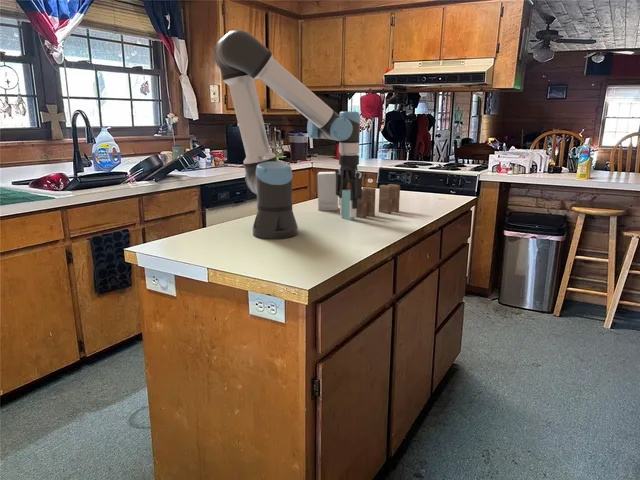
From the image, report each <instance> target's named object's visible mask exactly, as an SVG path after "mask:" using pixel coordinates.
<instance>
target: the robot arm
mask: <svg viewBox="0 0 640 480" xmlns="http://www.w3.org/2000/svg"><path fill="white" fill-rule="evenodd" d="M213 56H214V61H215V63H216V65H217V67H218V68H219V70H220V75H221V79H222V82H223V83H225V84H226V85H227V86H228V88H229V92H230V95H231V101H232V105H233V108H234V112H235V115H236V120H237V124H238V128H239V131H240V137H241V141H242V143H243V144H242V145H243V149H244V153H245V158H244V160H243V166H244V171H245V172H244V174H245V175H244V180H245V184H246V186H247V188H248V189H249V191H251V192H252V193H253V194H255V195H256V204H257V205H256V207H257V208H256V210H257V211H256V214H255V218H254V222H253V224H252V225H253V226H252V235H253V236H254V237H257V238H261V239H268V240H269V239H270V240H276V239H279V240H280V239H287V238H292V237H294V236H297V235H298V234H299V227H298V224H297V220H296V218H295V215H294V212H293V177H294V176H293V171H292V170H293V169H292V167H291V165H289V163H286V162H281V161H278V159H277V155H276V154H275V153H274V152H272V151H271V148H270V144H269V141H268V135H267V132H266V126H265V122H264V117H263V113H262V108H261V105H260V100H259V95H258V91H257V88H256V83H255V80H257V79H258V80H260V81H261V82H262V83H263V84H264V85H266V86H267V87H268V88H269V89H271V90H272V91H273V92H274V93H275V94H277V95H278V96H279V97H281V99H283V100H284V101H285V102H286V103H288V104H289V105H290V107H291V106H292V107H293V108H294V109H295V110H296V111H297V112H299V113H300V114H301V115H302V116H304V117H305V118H306V119H307V125H306V126H307V127H306V131H307V135H308V137H309V138H310V139H316V140H319V139H322V140H323V139H324V140H332V141H336V142H339V143H338V153H339V155H338V165H339V167H340V168H339V169H335V170H334V172H335V174H336V195H338V206H339V216H342V190H345V189H347V190H348V184H349V190H350V193H351V199H350V217H354V218H357V217H356V209H357V200H358V199H361V198H362V189H363V177H364V172H360V171H359V169H358V166H359V165H360V155H359V154H360V137H361V135H360V133H361V132H360V131H361V114H360V112H359V111H340V112H339V114H338V113H337V112H336V111H334V109H332V108H331V107H330V106H329V105H328V104H327V103H325V102H324V101H323V100H322V99H321V98H320V97H318V96H317V95H316V94H315V93H314V92H312V90H310V89H309V88H308V87H307V86H306V85H305V84H304V83H303V82H301V81H300V80H299V79H298V78H297V77H295V75H293V74H292V73H291V72H290V71H289V70H287V69H286V68H285V67H284V66H283V65H282V64H280V63H279V62H278V61H277V60H276V59H274V53H273V52H272V51H271V50H269V48H268V47H266V46H265V45H264V44H263V43H262V42H260V40H258V39H257V38H256V36H254V35H252V34H251V33H249V32H248V31H245V30H243V29H233V30H230V31H228V33H226V34H225V35H223V36H222V37H221V38H220V39H218V41H217V43H216V45H215V48H214V55H213ZM354 196H355V197H354Z"/></svg>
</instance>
